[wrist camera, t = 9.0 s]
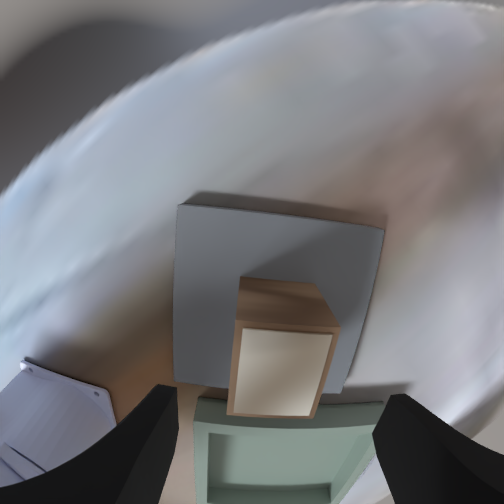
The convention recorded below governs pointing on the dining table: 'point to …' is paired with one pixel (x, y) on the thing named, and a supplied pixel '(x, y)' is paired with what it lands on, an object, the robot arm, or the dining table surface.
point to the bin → (281, 454)
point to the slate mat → (266, 267)
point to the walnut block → (280, 349)
